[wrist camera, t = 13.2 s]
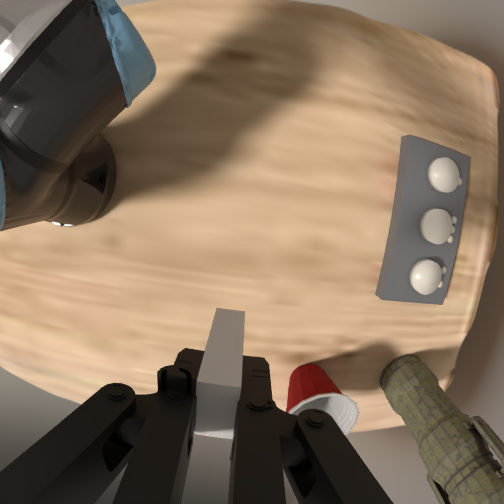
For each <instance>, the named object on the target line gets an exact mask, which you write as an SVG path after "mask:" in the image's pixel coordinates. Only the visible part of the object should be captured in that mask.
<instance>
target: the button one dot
mask: <svg viewBox="0 0 504 504" xmlns="http://www.w3.org/2000/svg"><path fill="white" fill-rule="evenodd" d="M427 178H428V181H429V183H430V185H431V187H432V188H433V189H434V190H436V191H438V192H447V193H449V192H452V191H454V190H455V189H456V187H457V186H458V183H459V170H458V167H457V165H456V164H455V162H454V161H453V160H451V159H450V158H446V157H444V158H436V159H433V160H432V161H431V162H430V164H429V166H428V169H427Z"/></svg>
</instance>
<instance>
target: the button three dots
mask: <svg viewBox="0 0 504 504" xmlns="http://www.w3.org/2000/svg"><path fill="white" fill-rule="evenodd" d="M420 232H421V235H422V236H423V238H424V239H425V240H426V241H428V242H431V243H434V244H442V243H444V242H446V241H447V240H448V238H449V237H450V235H451V232H452V219H451V217H450V215H449V213H448V212H446V211H445V210H443V209H437V208H430V209H428V210H427V211H425V212H424V214H423V215H422V217H421V220H420Z"/></svg>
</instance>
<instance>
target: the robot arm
mask: <svg viewBox="0 0 504 504" xmlns="http://www.w3.org/2000/svg"><path fill="white" fill-rule="evenodd" d="M155 74H156V65H155V62H154V59H153V57H152V55H151V53H150V51H149V49H148V48H147V46H146V44H145V42H144V41H143V39H142V37H141V36H140V34H139V33H138V31H137V30H136V28H135V27H134V25H133V24H132V22H131V21H130V19H129V18H128V17H127V15H126V14H125V13H124V12H123V11H122V9H121V8H120V7H119V6H118V4H117V2H116V1H115V0H0V231H4V230H7V229H11V228H15V227H19V226H23V225H28V224H32V223H36V222H40V221H47V222H52V223H54V224H56V225H59V226H64V227H73V226H77V225H81V224H85V223H87V222H89V221H91V220H93V219H94V218H95V217H97V216H98V215H99V214H100V213H101V212H102V211H103V209H104V208H105V207H106V205H107V203H108V202H109V200H110V197H111V195H112V192H113V189H114V185H115V178H116V165H115V159H114V155H113V152H112V150H111V147H110V145H109V144H108V142H107V141H106V140H105V138H104V137H103V136H102V135H100V134H99V133H100V132H101V131H102V130H103V129H104V128H105V127H106V126H107V125H108V124H109V123H110V122H111V121H112V120H113V119H114V118H115V117H116V116H117V115H118V114H119V113H121V112H122V111H123V110H124V109H125V108H126V107H127V108H128V107H129V106H130V105H131V104H132V101H133V100H134V99H135V98H136V97H137V96H138V95H139V94H140V93H141V92H142V91H143V90H144V89H145V88H146V87H147V86H148V85H149V84H150V83H151V82H152V81H153V79H154V77H155ZM244 323H245V311H237V310H229V309H222V308H217V309H216V312H215V316H214V320H213V323H212V327H211V330H210V334H209V338H208V341H207V345H206V349H205V351H201V350H194V349H188V348H185V349H183V350H182V351H181V352H179V353H178V355H177V358H176V361H175V363H174V365H170V366H165V367H163V368H161V369H160V370H159V371H158V372H157V378H158V391H157V393H153V394H146V395H136V394H135V392H134V390H133V389H132V388H131V387H129V386H128V385H125V384H122V383H111V384H107V385H105V386H104V387H102V388H101V389H100V390H98V391H97V392H96V393H95V394H94V395H92V396H91V397H90V398H89V399H88V400H86V401H85V402H84V403H83V404H82V405H80V406H79V407H78V408H77V409H76V410H75V411H73V412H72V413H71V414H70V415H68V416H67V417H66V418H65V419H64V420H62V421H61V422H60V423H59V424H58V425H57V426H55V427H54V428H53V429H52V430H50V431H49V432H48V433H47V434H46V435H44V436H43V437H42V438H41V439H40V440H38V441H37V442H36V443H35V444H33V445H32V446H31V447H30V448H29V449H27V450H26V451H25V452H24V453H23V454H21V455H20V456H19V457H18V458H16V459H15V460H14V461H13V462H12V463H10V465H8V466H7V467H6V468H4V469H3V470H2V471H1V472H0V504H94V503H95V502H96V501H97V500H98V498H99V497H100V496H101V495H102V493H103V492H104V491H105V490H106V489H107V488H108V486H109V485H110V484H111V483H112V482H113V480H114V479H115V478H116V477H117V476H118V474H119V473H120V472H121V471H122V469H123V468H124V467H125V466H126V465H127V463H128V465H127V467H126V470H125V472H124V475H123V477H122V480H121V483H120V485H119V488H118V490H117V493H116V496H115V498H114V501H113V503H112V504H181V501H182V496H183V491H184V486H185V481H186V476H187V470H188V466H189V461H190V456H191V451H192V446H193V434H194V433H195V434H199V435H205V436H212V437H220V438H228V439H233V443H232V450H231V456H230V460H231V464H230V477H229V491H228V504H286V499H285V487H284V477H283V469H284V472H285V474H286V476H287V478H288V481H289V483H290V485H291V487H292V489H293V492H294V494H295V496H296V498H297V500H298V503H299V504H393V502H392V501H391V500H390V498H389V497H388V496H387V494H386V493H385V491H384V490H383V488H382V487H381V486H380V484H379V483H378V481H377V480H376V479H375V478H374V476H373V474H372V473H371V472H370V470H369V469H368V467H367V466H366V465H365V463H364V462H363V460H362V459H361V458H360V456H359V455H358V454H357V452H356V450H355V449H354V448H353V446H352V445H351V443H350V442H349V440H348V439H347V438H346V436H345V435H344V433H343V432H342V430H341V429H340V427H339V426H338V425H337V423H336V422H335V420H334V419H333V417H332V416H331V415H330V414H329V413H327V412H325V411H323V410H319V409H306V410H303V411H302V412H300V413H299V414H298V415H294V414H290V413H287V412H284V411H282V410H281V409H279V408H278V407H277V406H276V404H275V402H274V401H273V400H272V390H271V380H270V369H269V364H268V362H267V361H266V360H265V358H262V357H252V356H243V343H244Z"/></svg>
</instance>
